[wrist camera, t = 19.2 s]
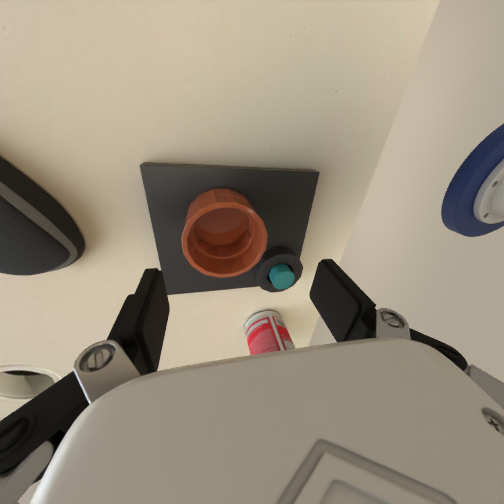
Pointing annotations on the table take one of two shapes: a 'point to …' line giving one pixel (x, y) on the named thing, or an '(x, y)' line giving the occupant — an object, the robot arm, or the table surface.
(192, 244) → the bowl
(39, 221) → the computer mouse
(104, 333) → the table surface
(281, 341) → the pill bottle
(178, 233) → the scale
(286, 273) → the button
